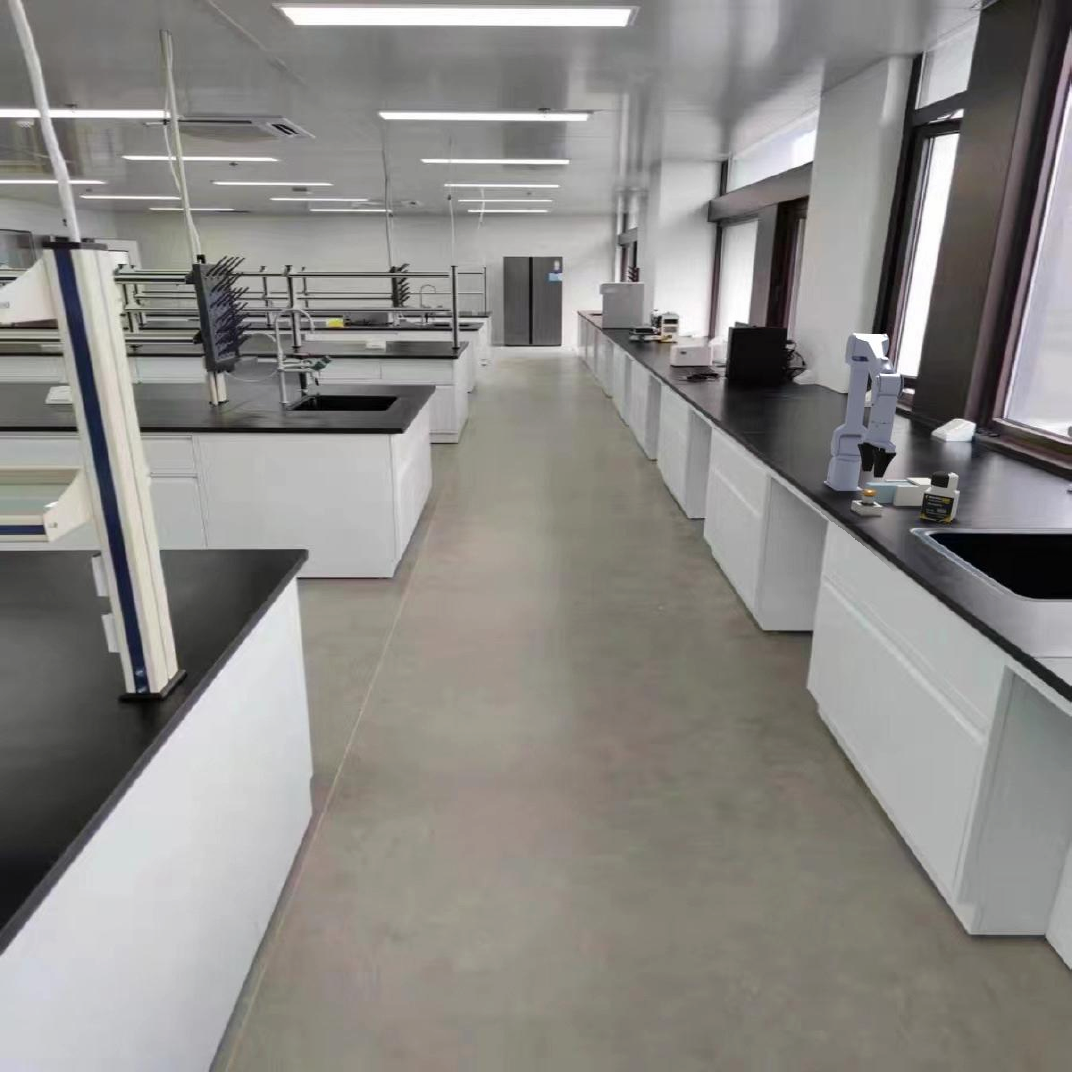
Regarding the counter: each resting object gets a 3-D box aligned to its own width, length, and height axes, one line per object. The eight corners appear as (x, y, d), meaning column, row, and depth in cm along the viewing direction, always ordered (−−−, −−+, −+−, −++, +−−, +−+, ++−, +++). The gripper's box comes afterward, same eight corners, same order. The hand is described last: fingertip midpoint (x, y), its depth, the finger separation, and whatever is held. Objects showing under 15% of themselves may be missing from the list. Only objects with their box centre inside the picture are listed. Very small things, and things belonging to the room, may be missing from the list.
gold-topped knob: (856, 503, 201) (859, 489, 200) (870, 503, 202) (873, 489, 200) (863, 507, 198) (865, 493, 197) (877, 507, 198) (880, 493, 197)
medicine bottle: (918, 518, 197) (927, 472, 193) (925, 512, 202) (933, 468, 198) (949, 523, 193) (958, 477, 189) (955, 517, 198) (964, 472, 194)
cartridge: (862, 499, 212) (865, 482, 210) (921, 499, 213) (924, 482, 211) (868, 503, 208) (871, 485, 207) (929, 503, 209) (932, 486, 207)
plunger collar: (850, 509, 203) (852, 500, 202) (871, 509, 203) (872, 500, 202) (860, 515, 198) (861, 506, 197) (881, 516, 198) (882, 506, 197)
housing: (881, 498, 214) (885, 477, 212) (923, 498, 215) (927, 477, 213) (894, 506, 207) (898, 484, 205) (937, 506, 208) (942, 484, 206)
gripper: (852, 416, 199) (845, 467, 204) (879, 427, 186) (870, 481, 190) (879, 417, 200) (870, 467, 204) (907, 427, 186) (897, 481, 190)
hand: (872, 474), depth 197 cm, fingers open, 6 cm apart
